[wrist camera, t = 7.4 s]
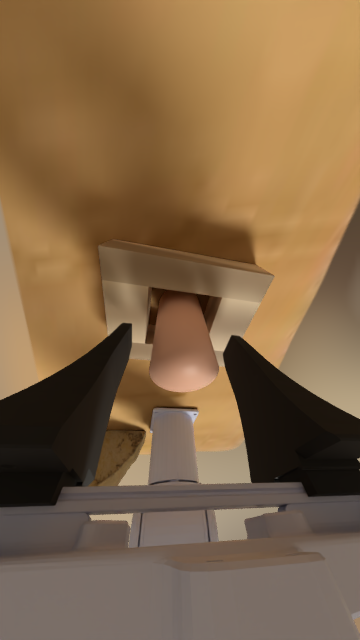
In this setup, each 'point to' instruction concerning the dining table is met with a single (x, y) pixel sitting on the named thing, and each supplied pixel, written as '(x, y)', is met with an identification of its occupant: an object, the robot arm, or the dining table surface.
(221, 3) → the dining table surface
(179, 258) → the socket block
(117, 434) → the rock
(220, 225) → the dining table surface
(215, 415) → the dining table surface
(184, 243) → the dining table surface
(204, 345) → the peg
